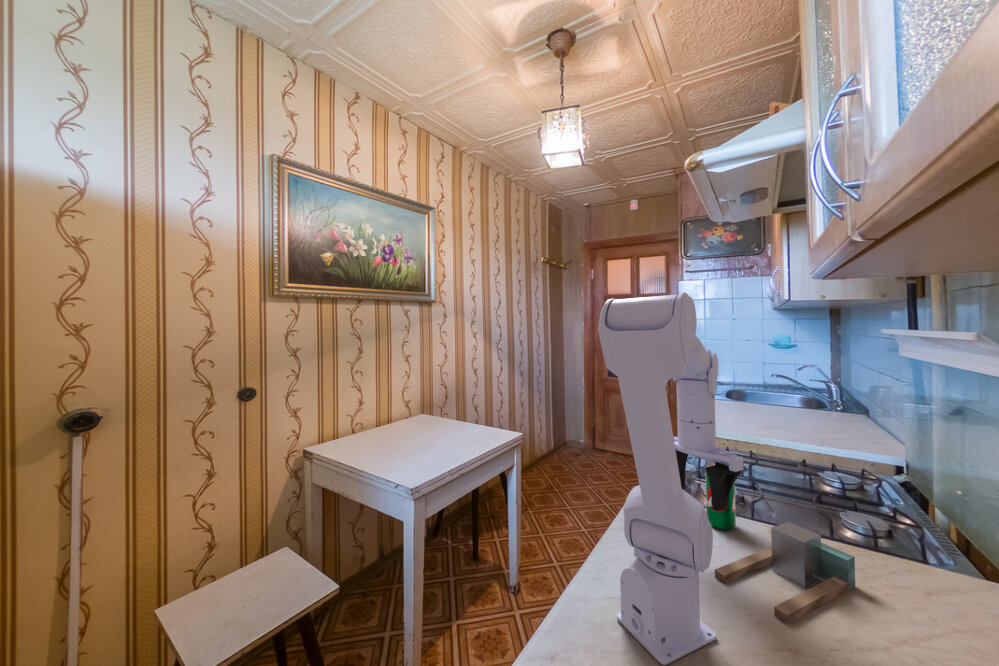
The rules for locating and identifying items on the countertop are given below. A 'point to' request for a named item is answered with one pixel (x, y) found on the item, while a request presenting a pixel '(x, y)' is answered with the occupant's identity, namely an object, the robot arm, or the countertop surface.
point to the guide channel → (838, 581)
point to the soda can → (723, 517)
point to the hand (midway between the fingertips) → (697, 499)
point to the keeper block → (796, 554)
